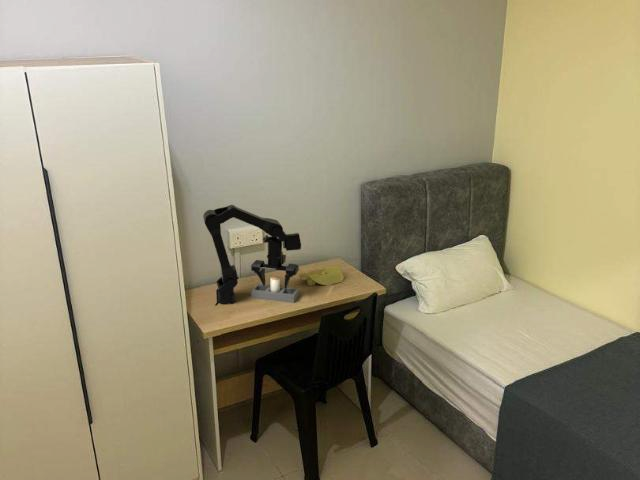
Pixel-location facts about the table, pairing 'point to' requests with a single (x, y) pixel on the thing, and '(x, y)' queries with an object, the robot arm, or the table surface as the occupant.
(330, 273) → the plastic component
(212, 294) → the table surface
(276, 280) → the plug
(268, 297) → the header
